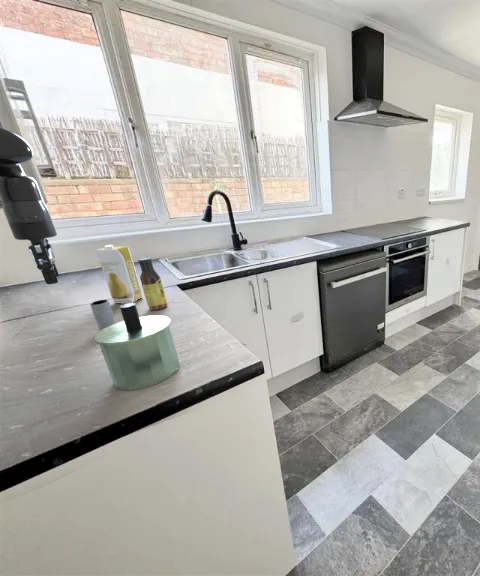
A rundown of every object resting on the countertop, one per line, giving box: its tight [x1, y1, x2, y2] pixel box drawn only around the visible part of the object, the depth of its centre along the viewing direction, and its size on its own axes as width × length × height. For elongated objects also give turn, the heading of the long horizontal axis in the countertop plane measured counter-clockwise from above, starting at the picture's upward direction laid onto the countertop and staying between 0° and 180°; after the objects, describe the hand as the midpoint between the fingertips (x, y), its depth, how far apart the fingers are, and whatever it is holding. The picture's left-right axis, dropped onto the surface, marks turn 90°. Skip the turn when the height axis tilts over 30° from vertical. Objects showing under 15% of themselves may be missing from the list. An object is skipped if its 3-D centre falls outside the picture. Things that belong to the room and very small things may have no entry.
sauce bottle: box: [137, 257, 168, 311], centre depth 119 cm, size 7×6×20 cm
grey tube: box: [89, 299, 117, 332], centre depth 102 cm, size 4×4×10 cm
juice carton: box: [96, 244, 144, 304], centre depth 126 cm, size 9×8×24 cm
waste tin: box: [98, 325, 181, 391], centre depth 78 cm, size 14×14×12 cm
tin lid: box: [94, 302, 172, 345], centre depth 74 cm, size 15×15×7 cm
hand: (53, 280), depth 83 cm, fingers open, 8 cm apart
